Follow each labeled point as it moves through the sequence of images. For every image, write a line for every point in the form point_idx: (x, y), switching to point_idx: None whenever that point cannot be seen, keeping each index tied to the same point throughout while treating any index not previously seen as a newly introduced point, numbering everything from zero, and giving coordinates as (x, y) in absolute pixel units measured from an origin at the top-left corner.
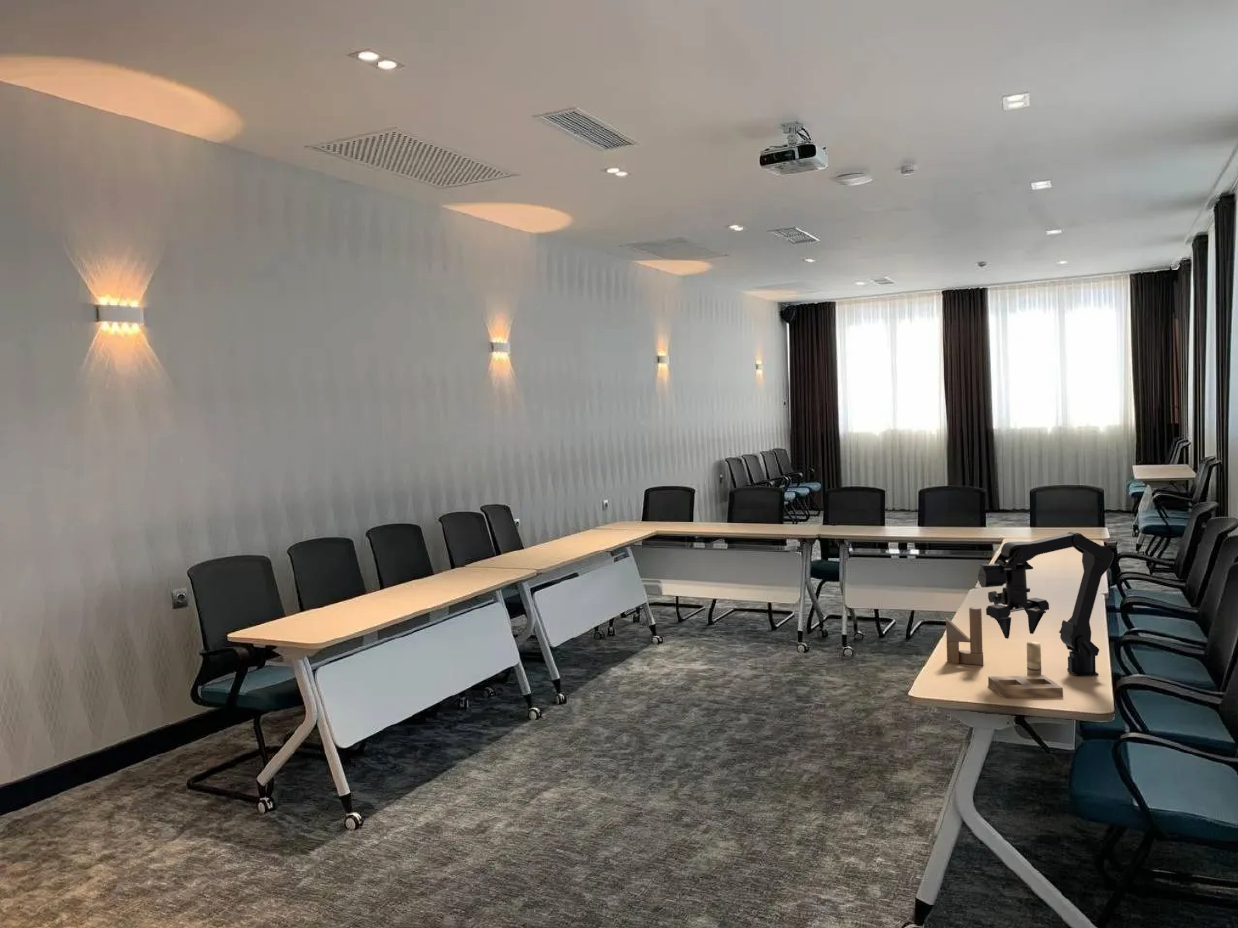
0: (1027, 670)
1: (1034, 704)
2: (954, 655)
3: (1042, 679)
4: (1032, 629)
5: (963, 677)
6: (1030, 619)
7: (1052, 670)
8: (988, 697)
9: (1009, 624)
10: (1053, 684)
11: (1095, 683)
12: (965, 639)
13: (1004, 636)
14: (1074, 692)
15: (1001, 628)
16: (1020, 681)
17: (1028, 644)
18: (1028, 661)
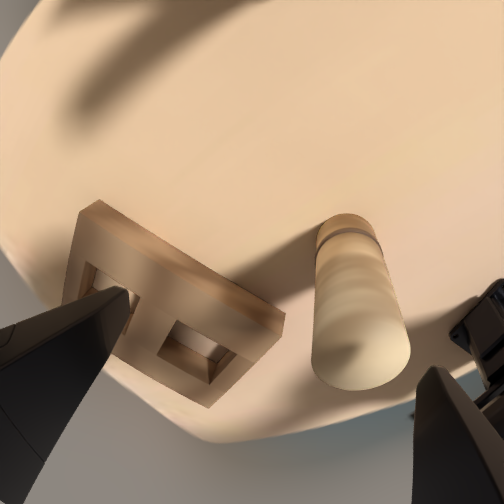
0: (324, 234)
1: (112, 364)
2: None
3: (233, 348)
4: (418, 426)
5: (88, 76)
6: (462, 500)
7: (474, 243)
8: (46, 273)
9: (38, 447)
10: (209, 388)
11: (401, 390)
12: None
13: (105, 290)
14: (273, 394)
15: (27, 329)
16: (140, 318)
17: (313, 348)
18: (317, 271)
